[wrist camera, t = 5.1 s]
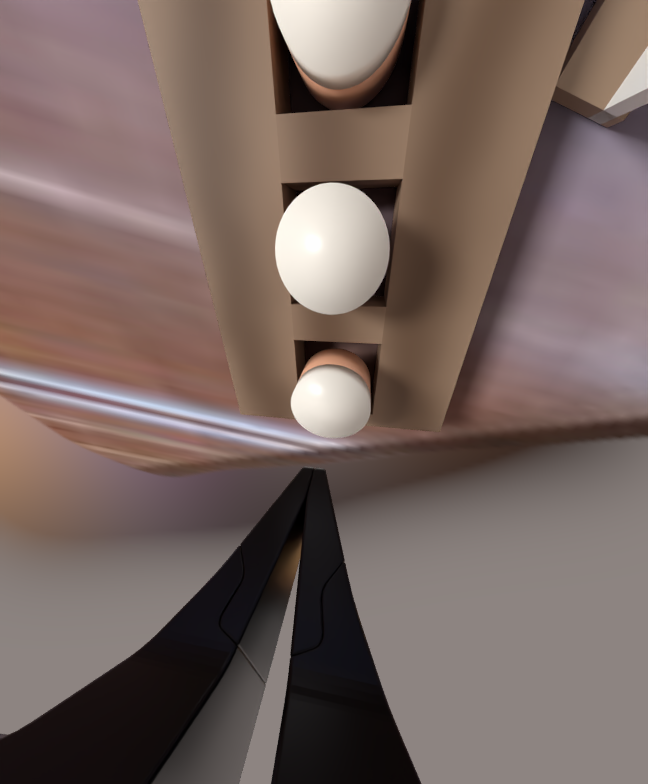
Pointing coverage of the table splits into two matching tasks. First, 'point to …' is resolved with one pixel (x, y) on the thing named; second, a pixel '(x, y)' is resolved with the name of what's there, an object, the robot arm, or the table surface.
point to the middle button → (332, 248)
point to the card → (607, 63)
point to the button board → (357, 183)
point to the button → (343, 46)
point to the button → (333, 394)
